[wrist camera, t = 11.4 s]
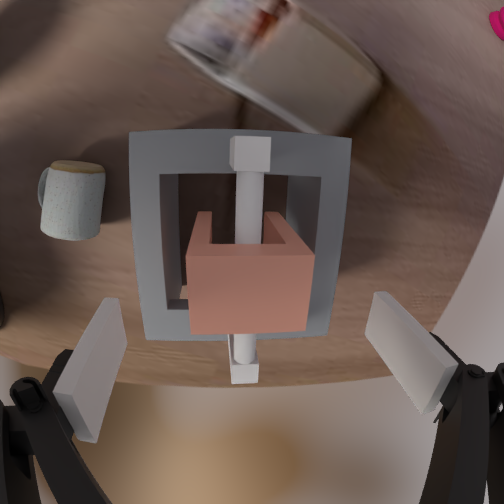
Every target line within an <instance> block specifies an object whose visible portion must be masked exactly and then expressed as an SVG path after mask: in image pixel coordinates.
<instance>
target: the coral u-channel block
mask: <svg viewBox="0 0 504 504" xmlns="http://www.w3.org/2000/svg"><path fill="white" fill-rule="evenodd" d="M314 260H315V255H314V253H313V252H312V251H311V250H310V249H309V247H308V246H307V245H306V244H305V243H304V242H303V240H302V239H301V238H300V237H299V236H298V235H297V233H296V232H295V231H294V230H293V229H292V228H291V226H290V225H289V224H288V223H287V222H286V221H285V219H284V218H283V217H282V216H281V215H280V214H279V213H278V212H264V233H263V244H212V211H198V213H197V217H196V220H195V224H194V228H193V231H192V235H191V238H190V242H189V246H188V250H187V253H186V272H187V290H188V304H189V318H190V330H191V335H215V334H256V333H278V332H296V331H305V330H306V323H307V316H308V309H309V302H310V294H311V286H312V278H313V269H314Z"/></svg>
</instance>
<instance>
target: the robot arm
mask: <svg viewBox="0 0 504 504" xmlns="http://www.w3.org/2000/svg"><path fill="white" fill-rule="evenodd" d="M3 319H4V308H3V302H2V298H1V295H0V327H1V325H2V323H3ZM365 336H366V337H367V339H368V340H369V341H370V343H371V344H372V345H373V347H374V348H375V350H376V351H377V352H378V354H379V355H380V356H381V358H382V359H383V361H384V362H385V363H386V365H387V366H388V368H389V369H390V370H391V372H392V373H393V375H394V376H395V378H396V379H397V380H398V382H399V383H400V385H401V386H402V387H403V389H404V390H405V392H406V393H407V395H408V396H409V398H410V399H411V400H412V402H413V403H414V405H415V406H416V408H417V409H418V411H419V412H420V414H421V415H423V414H426V413H428V412H431V411H434V410H435V408H436V406H437V405H438V403H439V401H440V402H441V403H442V405H443V407H442V409H441V410H440V412H439V414H438V415H437V417H436V419H435V420H434V423H436V421H437V420H438V419H439V422H438V428H437V434H436V439H435V444H434V449H433V453H432V458H431V462H430V466H429V470H428V474H427V478H426V482H425V485H424V489H423V492H422V496H421V499H420V502H419V504H483V503H484V496H485V488H486V480H487V485H488V496H489V504H504V363H500V364H498V366H497V368H496V370H495V372H485V371H484V369H482V368H481V367H480V366H477V365H474V364H468V365H466V364H465V363H464V362H463V361H462V360H461V359H460V358H459V357H458V356H457V355H456V354H455V353H454V352H453V351H452V350H451V349H450V348H449V347H448V346H447V345H445V343H444V342H443V341H442V340H441V339H440V338H439V337H438V336H436V335H434V334H433V333H431V332H428V331H427V330H426V329H425V328H424V327H423V326H422V325H421V324H420V323H419V322H418V321H417V320H416V319H415V318H414V317H413V316H411V315H410V314H409V313H408V312H407V311H406V310H405V309H404V308H403V307H402V306H401V305H400V304H399V303H398V302H397V301H396V300H395V299H394V298H393V297H392V296H391V295H390V294H389V293H388V292H387V291H380V292H374V297H373V301H372V305H371V310H370V314H369V318H368V322H367V326H366V330H365ZM126 346H127V339H126V335H125V330H124V325H123V320H122V315H121V309H120V304H119V298H104V299H103V301H102V303H101V304H100V306H99V308H98V309H97V311H96V313H95V314H94V316H93V318H92V319H91V321H90V323H89V324H88V326H87V328H86V330H85V331H84V333H83V335H82V337H81V338H80V340H79V342H78V344H77V346H76V347H75V349H74V350H69V349H65V350H64V351H63V352H61V353H60V354H59V355H58V356H57V357H56V359H55V361H54V363H53V366H51V368H50V370H49V372H48V373H47V375H46V377H45V379H44V381H43V382H42V384H40V382H39V381H38V380H37V379H35V378H33V377H24V378H21V379H19V380H17V381H16V382H15V383H14V384H13V385H12V386H11V388H10V396H11V398H12V400H13V402H14V403H15V405H16V406H4V405H3V403H2V401H1V400H0V504H41V500H40V496H39V490H38V486H37V480H36V474H35V468H34V462H33V455H35V456H36V459H37V461H38V463H39V466H40V468H41V470H42V472H43V475H44V477H45V479H46V481H47V483H48V485H49V487H50V489H51V491H52V493H53V495H54V497H55V499H56V501H57V503H58V504H112V503H111V501H110V500H109V498H108V497H107V496H106V494H105V493H104V491H103V490H102V489H101V487H100V486H99V484H98V483H97V481H96V480H95V478H94V477H93V475H92V473H91V472H90V470H89V469H88V467H87V466H86V464H85V462H84V460H83V459H82V457H81V455H80V454H79V452H78V450H77V448H76V446H75V445H74V443H73V441H72V440H71V439H72V436H73V433H75V434H76V436H77V438H78V439H79V440H81V441H87V442H92V443H97V439H98V436H99V432H100V428H101V425H102V421H103V418H104V414H105V411H106V407H107V404H108V401H109V398H110V394H111V391H112V388H113V385H114V382H115V379H116V376H117V373H118V370H119V367H120V364H121V361H122V358H123V355H124V352H125V349H126ZM501 404H503V409H502V411H501V412H500V410H499V407H500V405H501Z"/></svg>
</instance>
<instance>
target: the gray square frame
mask: <svg viewBox="0 0 504 504" xmlns="http://www.w3.org/2000/svg"><path fill="white" fill-rule="evenodd" d="M351 144H352V138H344V137H336V136H328V135H319V134H308V133H297V132H284V131H268V130H246V129H174V130H152V131H137V132H129V184H130V206H131V222H132V236H133V247H134V257H135V267H136V276H137V284H138V291H139V299H140V306H141V312H142V319H143V325H144V331H145V336H146V340H170V341H228V345H229V357H230V369H231V381H232V384H242V383H258V371H259V362H258V357H257V352H256V340H262V339H282V338H298V337H312V336H324V335H327V333H328V328H329V323H330V317H331V312H332V306H333V300H334V294H335V288H336V282H337V276H338V269H339V262H340V255H341V248H342V240H343V232H344V224H345V215H346V206H347V196H348V185H349V173H350V159H351ZM183 173H237V178H236V218H235V244H261V230H262V209H263V186H264V174H275V175H288V188H287V205H286V220H285V221H286V222H287V223H288V224H289V225H290V226H291V228H292V229H293V230H294V231H295V232H296V233H297V235H298V236H299V237H300V238H301V239H302V240H303V242H304V243H305V244H306V245H307V246H308V247H309V249H310V250H311V251H312V252H313V253H314V255H315V260H314V269H313V278H312V286H311V294H310V302H309V309H308V316H307V323H306V330H305V331H296V332H278V333H256V334H215V335H191V330H190V318H189V304H188V299H179V298H180V293H181V288H182V277H181V259H180V237H179V200H178V174H183Z"/></svg>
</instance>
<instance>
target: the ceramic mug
mask: <svg viewBox="0 0 504 504" xmlns="http://www.w3.org/2000/svg"><path fill="white" fill-rule="evenodd" d="M104 188H105V169H104V168H103V167H102V166H101V165H98V164H94V163H88V162H81V161H71V160H58V161H55V162H53V163H52V164H51V166H50V167H48V168H46V169H45V170H44V171H43V173H42V174H41V177H40V180H39V184H38V200H39V203H40V206H41V208H42V215H41V230H42V232H44V233H45V234H47V235H48V236H51V237H54V238H58V239H64V240H72V241H77V240H86V239H90V238H93V237H95V236H97V235H98V233H99V231H100V221H101V212H102V202H103V194H104Z"/></svg>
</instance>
